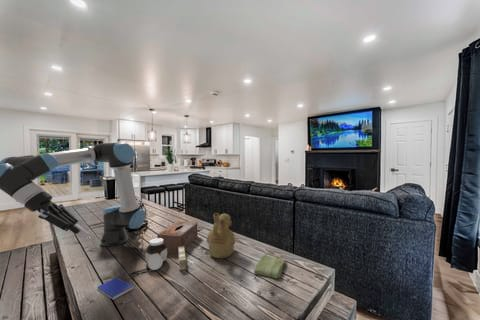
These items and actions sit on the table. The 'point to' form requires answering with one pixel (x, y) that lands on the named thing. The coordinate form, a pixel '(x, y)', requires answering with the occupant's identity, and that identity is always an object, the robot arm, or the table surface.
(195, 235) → the tissue box cover
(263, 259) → the washcloth
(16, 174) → the robot arm
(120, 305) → the table surface
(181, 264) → the ash stop
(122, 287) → the hard drive
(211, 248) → the ceramic vessel
